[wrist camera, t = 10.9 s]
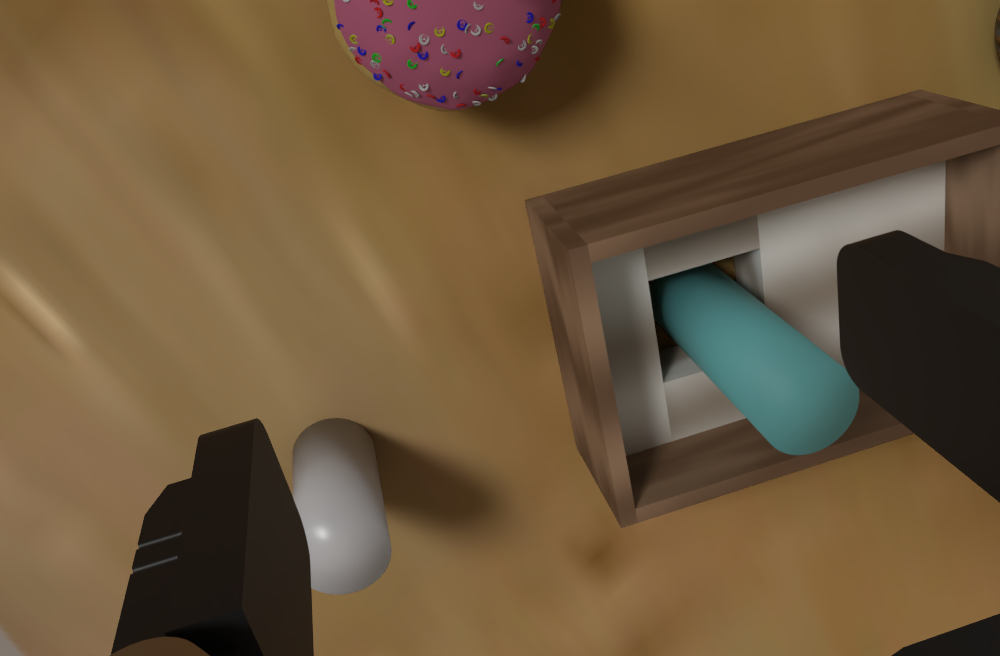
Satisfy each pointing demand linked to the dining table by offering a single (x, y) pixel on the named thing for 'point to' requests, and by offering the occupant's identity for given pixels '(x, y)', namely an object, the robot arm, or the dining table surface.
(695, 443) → the peg box
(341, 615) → the dining table surface
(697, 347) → the teal peg
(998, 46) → the vase
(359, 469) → the grey peg
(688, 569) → the dining table surface
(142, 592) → the robot arm
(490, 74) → the cupcake
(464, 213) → the dining table surface
